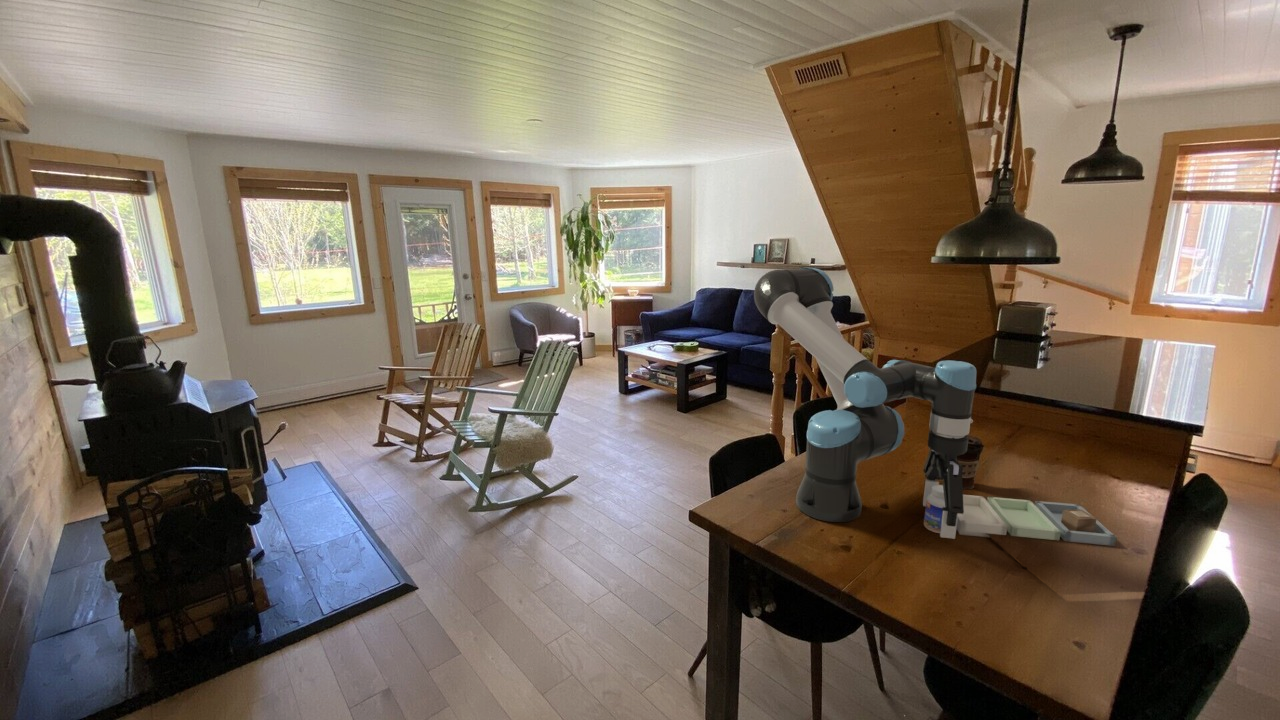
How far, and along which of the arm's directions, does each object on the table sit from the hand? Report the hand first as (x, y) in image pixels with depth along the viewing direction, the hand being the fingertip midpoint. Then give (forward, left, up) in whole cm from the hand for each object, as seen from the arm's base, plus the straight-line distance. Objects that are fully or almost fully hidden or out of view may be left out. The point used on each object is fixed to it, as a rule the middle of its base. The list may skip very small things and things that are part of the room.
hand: (937, 520), depth 120 cm
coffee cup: (+12, +24, -2) cm, 27 cm away
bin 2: (+28, +5, -2) cm, 29 cm away
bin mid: (+18, +5, -2) cm, 19 cm away
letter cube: (+28, +3, -1) cm, 29 cm away
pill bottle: (0, 0, -2) cm, 2 cm away
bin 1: (+8, +5, -2) cm, 10 cm away
